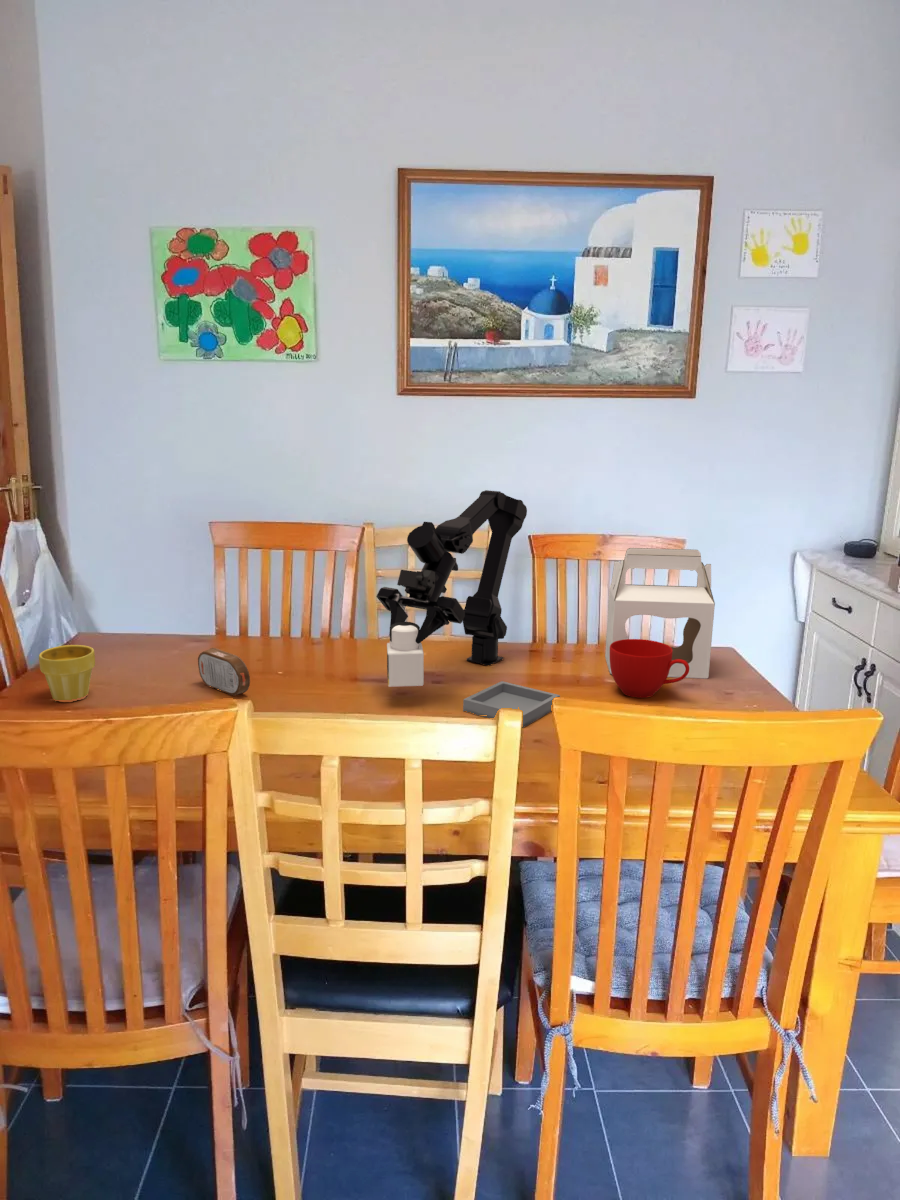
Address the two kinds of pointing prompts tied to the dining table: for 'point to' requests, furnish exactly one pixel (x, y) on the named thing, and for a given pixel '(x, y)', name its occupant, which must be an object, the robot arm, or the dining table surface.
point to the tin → (224, 671)
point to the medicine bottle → (405, 656)
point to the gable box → (665, 605)
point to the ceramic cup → (642, 666)
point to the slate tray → (510, 701)
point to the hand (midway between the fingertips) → (403, 639)
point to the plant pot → (68, 670)
